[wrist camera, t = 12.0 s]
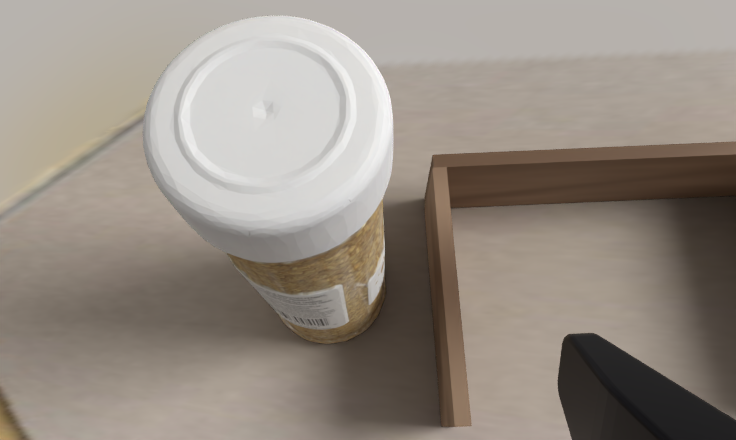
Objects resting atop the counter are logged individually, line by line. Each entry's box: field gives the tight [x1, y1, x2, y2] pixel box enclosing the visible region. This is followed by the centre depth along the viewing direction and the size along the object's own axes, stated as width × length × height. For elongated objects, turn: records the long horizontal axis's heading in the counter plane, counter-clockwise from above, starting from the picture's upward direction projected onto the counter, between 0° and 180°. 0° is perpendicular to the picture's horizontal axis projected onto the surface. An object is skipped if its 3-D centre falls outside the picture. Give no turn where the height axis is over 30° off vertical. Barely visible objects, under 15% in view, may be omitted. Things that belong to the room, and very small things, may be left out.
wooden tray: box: [424, 142, 736, 427], centre depth 20 cm, size 9×14×4 cm, turn 92°
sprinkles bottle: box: [143, 15, 393, 344], centre depth 16 cm, size 5×5×14 cm
